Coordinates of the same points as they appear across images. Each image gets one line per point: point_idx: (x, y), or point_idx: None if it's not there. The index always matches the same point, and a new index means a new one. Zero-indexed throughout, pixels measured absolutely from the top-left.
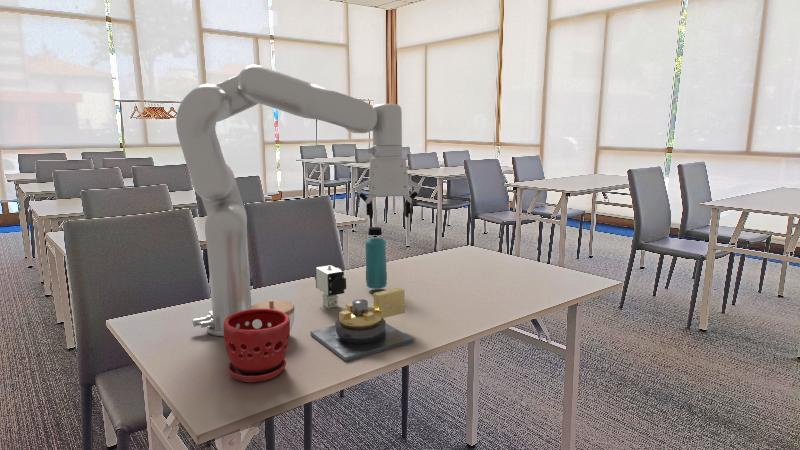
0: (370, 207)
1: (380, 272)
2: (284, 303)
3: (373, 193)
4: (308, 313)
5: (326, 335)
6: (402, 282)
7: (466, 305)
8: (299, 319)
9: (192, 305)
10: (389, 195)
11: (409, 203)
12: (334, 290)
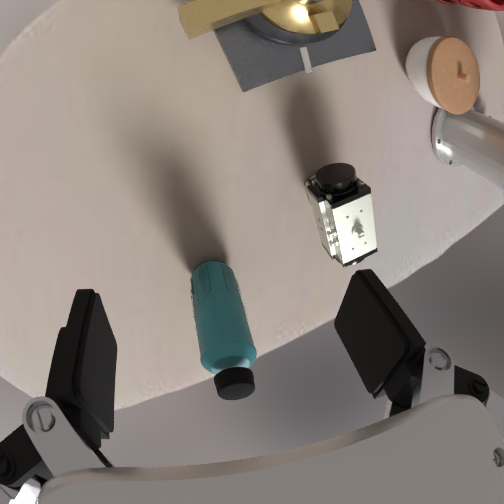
0: (405, 322)
1: (208, 286)
2: (444, 81)
3: (473, 409)
4: (361, 158)
5: (352, 19)
6: (156, 309)
7: (28, 171)
8: (379, 132)
9: (466, 226)
10: (304, 457)
11: (55, 395)
12: (340, 163)
